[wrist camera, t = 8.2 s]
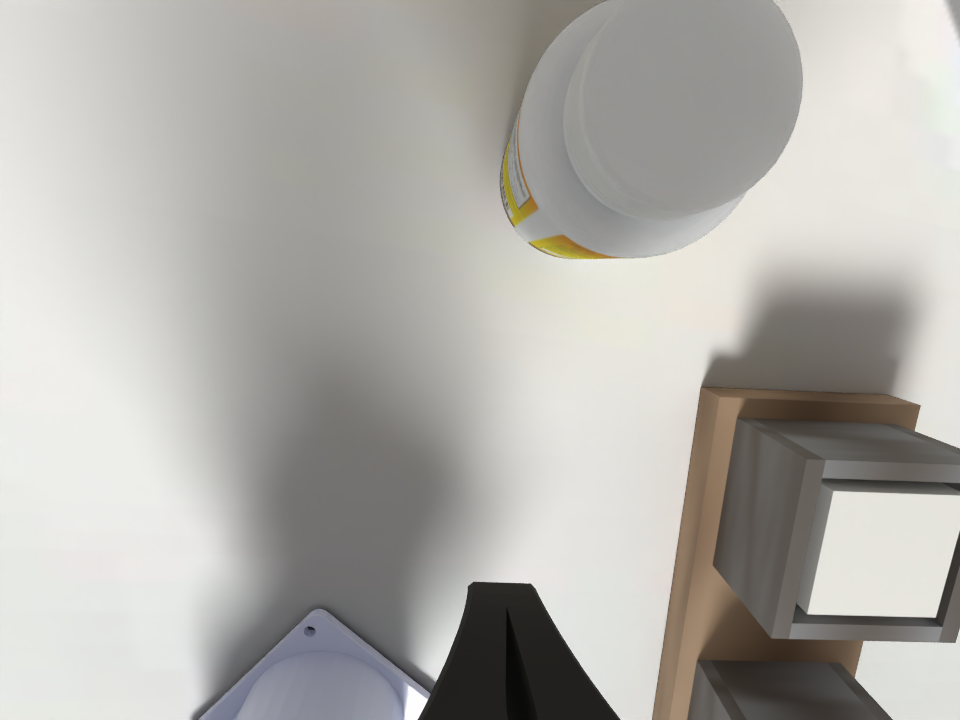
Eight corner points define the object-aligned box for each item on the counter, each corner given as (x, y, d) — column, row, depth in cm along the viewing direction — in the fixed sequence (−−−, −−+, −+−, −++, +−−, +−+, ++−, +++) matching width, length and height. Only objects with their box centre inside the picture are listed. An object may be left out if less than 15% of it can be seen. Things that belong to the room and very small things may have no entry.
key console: (646, 759, 24) (698, 903, 19) (701, 386, 20) (786, 433, 15) (804, 762, 24) (899, 904, 19) (888, 394, 21) (1037, 443, 15)
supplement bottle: (672, 197, 19) (909, 127, 9) (555, 288, 19) (652, 320, 9) (588, 70, 18) (746, -175, 8) (467, 169, 18) (469, 63, 8)
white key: (762, 567, 19) (807, 614, 16) (782, 458, 18) (833, 490, 15) (874, 570, 19) (935, 617, 16) (900, 463, 18) (968, 495, 15)
